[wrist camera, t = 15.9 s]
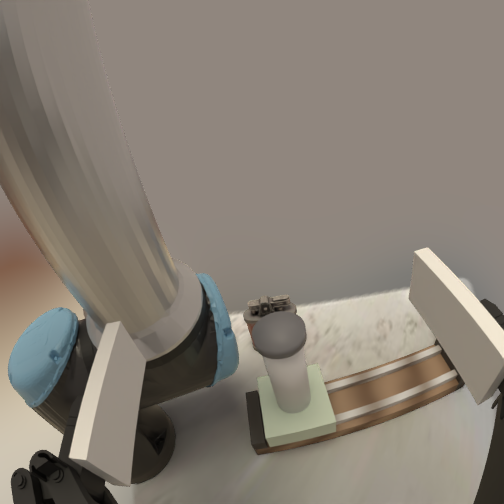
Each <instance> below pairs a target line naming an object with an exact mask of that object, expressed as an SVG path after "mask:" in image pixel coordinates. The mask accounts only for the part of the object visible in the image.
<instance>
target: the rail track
mask: <svg viewBox="0 0 504 504" xmlns="http://www.w3.org/2000/svg"><path fill="white" fill-rule="evenodd" d="M324 384H325V387H326V390H327V393H328V397H329V400H330V403H331V406H332V409H333V413H334V416H335V419H336V432H333V433H330V434H326V435H322V436H318V437H314V438H310V439H306V440H302V441H298V442H293V443H289V444H284V445H279V446H274V447H270V446H269V444H268V442H267V440H266V436H265V430H264V423H263V416H262V410H261V403H260V396H259V393H258V391H252V392H247V393H246V401H247V410H248V418H249V427H250V435H251V444H252V446H253V448H254V449H255V451H256V452H257V454H258V455H261V454H266V453H272V452H277V451H282V450H287V449H292V448H297V447H301V446H305V445H310V444H314V443H318V442H321V441H325V440H329V439H333V438H336V437H340V436H343V435H346V434H350V433H353V432H356V431H359V430H362V429H365V428H368V427H371V426H374V425H377V424H380V423H382V422H385V421H388V420H390V419H393V418H396V417H398V416H401V415H403V414H406V413H408V412H410V411H413V410H415V409H417V408H420V407H422V406H424V405H427V404H429V403H431V402H433V401H435V400H437V399H439V398H442V397H444V396H446V395H448V394H450V393H452V392H454V391H456V390H458V389H459V388H461V387H463V386H464V384H465V382H464V381H463V379H462V377H461V376H460V374H459V373H458V371H457V369H456V368H455V366H454V365H453V363H452V361H451V360H450V358H449V357H448V355H447V354H446V352H445V351H444V349H443V347H442V346H441V344H440V343H439V341H438V340H437V338H436V341H435V344H434V345H432V346H430V347H427V348H425V349H422V350H420V351H417V352H415V353H412V354H410V355H407V356H405V357H402V358H399V359H396V360H394V361H391V362H388V363H385V364H383V365H380V366H377V367H374V368H371V369H368V370H365V371H362V372H358V373H355V374H352V375H349V376H346V377H342V378H339V379H335V380H332V381H328V382H325V383H324Z"/></svg>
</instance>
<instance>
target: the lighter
mask: <svg viewBox="0 0 504 504" xmlns="http://www.w3.org/2000/svg"><path fill="white" fill-rule="evenodd" d="M248 306H249V309H248V310H246V311H245V312H244V314H243V317H244V320H245V322H246V323H247V326H248V329H249V332H250V335H251V338H252V330H253V327H254V325H255V324H256V323H257V321H258V320H260V319H261V318H262V317H264V316H266V315H268V314H270V313H274V312H280V311H286V312H291V313H294V314H296V313H297V310H296V306H295V304H293V303H290V298H289V296H288V295H281V296H275V297H272V298H270V297H268V296H262V297H260V299H259V300H252V301H249V302H248ZM252 341H253V339H252ZM252 344H253V347H254V349H255V350H256V348H255V345H254V342H253V343H252ZM256 351H257V350H256Z"/></svg>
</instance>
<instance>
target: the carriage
mask: <svg viewBox="0 0 504 504" xmlns="http://www.w3.org/2000/svg"><path fill="white" fill-rule="evenodd" d="M252 339H253V342H254V345H255V348H256V350H257V351H258V352H259V353H260V354H261V355H262V356H263V359H264V362H265V365H266V368H267V372H268V375H267V376H262V377H258V378H257V382H258V389H259V396H260V403H261V410H262V416H263V423H264V430H265V436H266V440H267V442H268V444H269V446H270V447H274V446H279V445H284V444H289V443H293V442H298V441H302V440H306V439H310V438H314V437H318V436H322V435H326V434H330V433H333V432H336V419H335V416H334V413H333V409H332V406H331V403H330V400H329V397H328V393H327V390H326V387H325V384H324V381H323V378H322V374H321V371H320V368H319V365H318V363H317V364H313V365H309V366H306V359H305V352H304V344H305V342H306V329H305V323H304V321H303V320H302V318H301V317H299V316H298V315H296V314H294V313H291V312H286V311H280V312H274V313H270V314H268V315H266V316H264V317H262V318H261V319H260V320H258V321H257V323H256V324H255V325H254V327H253V330H252Z"/></svg>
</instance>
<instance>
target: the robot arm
mask: <svg viewBox="0 0 504 504" xmlns="http://www.w3.org/2000/svg"><path fill="white" fill-rule="evenodd" d="M0 185H1V187H2V189H3V191H4V193H5V195H6V196H7V198H8V200H9V202H10V204H11V205H12V207H13V209H14V210H15V212H16V214H17V215H18V217H19V219H20V220H21V222H22V223H23V225H24V227H25V228H26V230H27V232H28V233H29V235H30V236H31V238H32V239H33V241H34V243H35V244H36V246H37V247H38V248H39V250H40V251H41V253H42V254H43V256H44V257H45V259H46V260H47V262H48V263H49V264H50V266H51V267H52V268H53V270H54V271H55V273H56V274H57V275H58V277H59V278H60V279H61V281H62V282H63V283H64V285H65V286H66V287H67V289H68V290H69V291H70V292H71V294H72V295H73V296H74V297H75V299H76V300H77V301H78V303H80V305H81V306H82V307H83V309H84V310H85V311H86V312H87V316H86V319H83V320H78V318H77V316H76V314H75V313H73V312H71V311H70V310H69V309H67V308H62V307H59V308H55V309H52V310H50V311H48V312H46V313H44V314H43V315H41V316H40V317H38V318H37V319H36V320H35V321H34V322H33V323H31V325H30V326H29V327H28V328H27V329H26V330H25V331H24V332H23V334H22V335H21V336H20V338H19V339H18V341H17V343H16V344H15V346H14V348H13V351H12V353H11V356H10V359H9V364H8V376H9V380H10V383H11V384H12V386H13V388H14V389H15V390H16V391H17V392H18V394H19V395H20V396H21V397H22V398H23V399H24V400H25V402H26V404H27V405H28V406H29V407H31V408H32V409H33V410H34V411H35V412H37V413H38V414H39V415H40V416H41V417H42V418H44V419H45V420H46V421H47V422H48V423H50V424H51V425H52V426H53V427H54V428H56V429H57V430H58V431H60V432H61V433H62V434H63V435H64V436H63V440H62V444H61V449H60V453H59V457H56V456H55V455H53V454H51V453H50V452H49V451H47V450H40V451H38V452H36V453H35V454H34V455H33V456H32V458H31V460H30V465H29V469H30V471H28V470H26V469H24V468H19V469H17V470H16V471H15V472H14V473H13V475H12V478H11V488H12V495H13V501H14V504H118V503H117V501H116V500H115V499H114V497H113V496H112V494H111V493H110V491H109V490H108V489H107V488H106V487H105V481H107V482H109V483H111V484H113V485H118V486H129V487H130V484H135V483H140V482H143V481H146V480H148V479H150V478H152V477H153V476H155V475H156V474H158V473H159V472H160V471H161V470H162V469H163V468H164V467H165V465H166V464H167V463H168V461H169V459H170V457H171V455H172V453H173V449H174V445H175V431H174V427H173V424H172V422H171V420H170V418H169V417H168V415H167V414H166V413H165V412H164V411H163V410H162V408H161V407H160V406H159V405H158V404H159V403H162V402H165V401H168V400H171V399H174V398H177V397H179V396H182V395H185V394H188V393H190V392H193V391H196V390H199V389H201V388H204V387H211V386H214V384H216V383H217V382H218V381H220V380H223V379H225V378H227V377H229V376H231V375H232V374H233V373H234V372H235V371H236V370H237V368H238V364H239V353H238V347H237V342H236V338H235V335H234V333H233V331H232V329H231V322H230V318H229V315H228V312H227V309H226V307H225V304H224V301H223V299H222V297H221V294H220V292H219V290H218V288H217V286H216V284H215V282H214V281H213V279H212V278H211V277H210V276H209V275H208V274H204V273H203V274H195V273H194V272H193V270H191V268H190V267H189V266H187V265H186V264H185V263H183V262H181V261H179V260H176V259H173V258H171V256H170V254H169V252H168V249H167V247H166V244H165V242H164V239H163V237H162V235H161V232H160V230H159V227H158V225H157V222H156V220H155V217H154V214H153V212H152V209H151V207H150V204H149V201H148V199H147V196H146V194H145V191H144V188H143V185H142V183H141V180H140V177H139V175H138V172H137V169H136V166H135V163H134V160H133V158H132V155H131V152H130V149H129V146H128V143H127V140H126V137H125V134H124V131H123V127H122V124H121V121H120V118H119V115H118V112H117V109H116V105H115V102H114V99H113V95H112V92H111V88H110V85H109V82H108V78H107V74H106V71H105V67H104V63H103V59H102V56H101V52H100V48H99V44H98V40H97V36H96V32H95V27H94V23H93V18H92V14H91V9H90V4H89V0H0ZM409 300H410V301H411V303H412V304H413V305H414V307H415V308H416V310H417V311H418V312H419V314H420V315H421V317H422V318H423V319H424V321H425V322H426V324H427V325H428V327H429V328H430V330H431V331H432V333H433V334H434V335H435V337H436V338H437V340H438V341H439V343H440V344H441V346H442V347H443V349H444V351H445V352H446V354H447V355H448V357H449V358H450V360H451V361H452V363H453V365H454V366H455V368H456V369H457V371H458V373H459V374H460V376H461V377H462V379H463V381H464V382H465V384H466V386H467V387H468V389H469V391H470V392H471V394H472V396H473V398H474V399H475V401H476V403H477V405H479V404H481V403H482V402H484V401H486V400H487V399H489V398H490V397H492V396H493V394H494V393H495V391H496V390H497V388H498V389H499V391H500V392H501V393H500V395H499V396H498V397H497V399H496V400H495V401H494V403H493V405H492V407H491V408H492V409H494V407H495V406H496V405H497V403H498V406H497V412H496V419H495V424H494V430H493V435H492V440H491V444H490V449H489V453H488V457H487V461H486V465H485V469H484V472H483V476H482V479H481V482H480V486H479V489H478V492H477V495H476V498H475V501H474V503H473V504H504V315H503V313H502V312H501V311H500V310H499V309H498V307H497V306H496V305H495V304H493V303H491V302H490V301H488V300H486V299H483V300H481V301H478V299H477V298H476V297H475V296H474V295H473V294H472V293H471V292H470V291H469V289H468V288H467V287H466V286H465V285H464V284H463V283H462V282H461V281H460V280H459V279H458V278H457V277H456V275H454V273H453V272H452V271H450V269H449V268H448V267H447V266H446V265H445V264H444V263H443V262H442V261H441V260H440V259H439V258H438V257H437V256H436V255H435V254H434V253H433V252H432V251H431V250H430V249H429V248H424V249H421V250H417V251H415V252H414V259H413V268H412V278H411V286H410V293H409Z"/></svg>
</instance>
